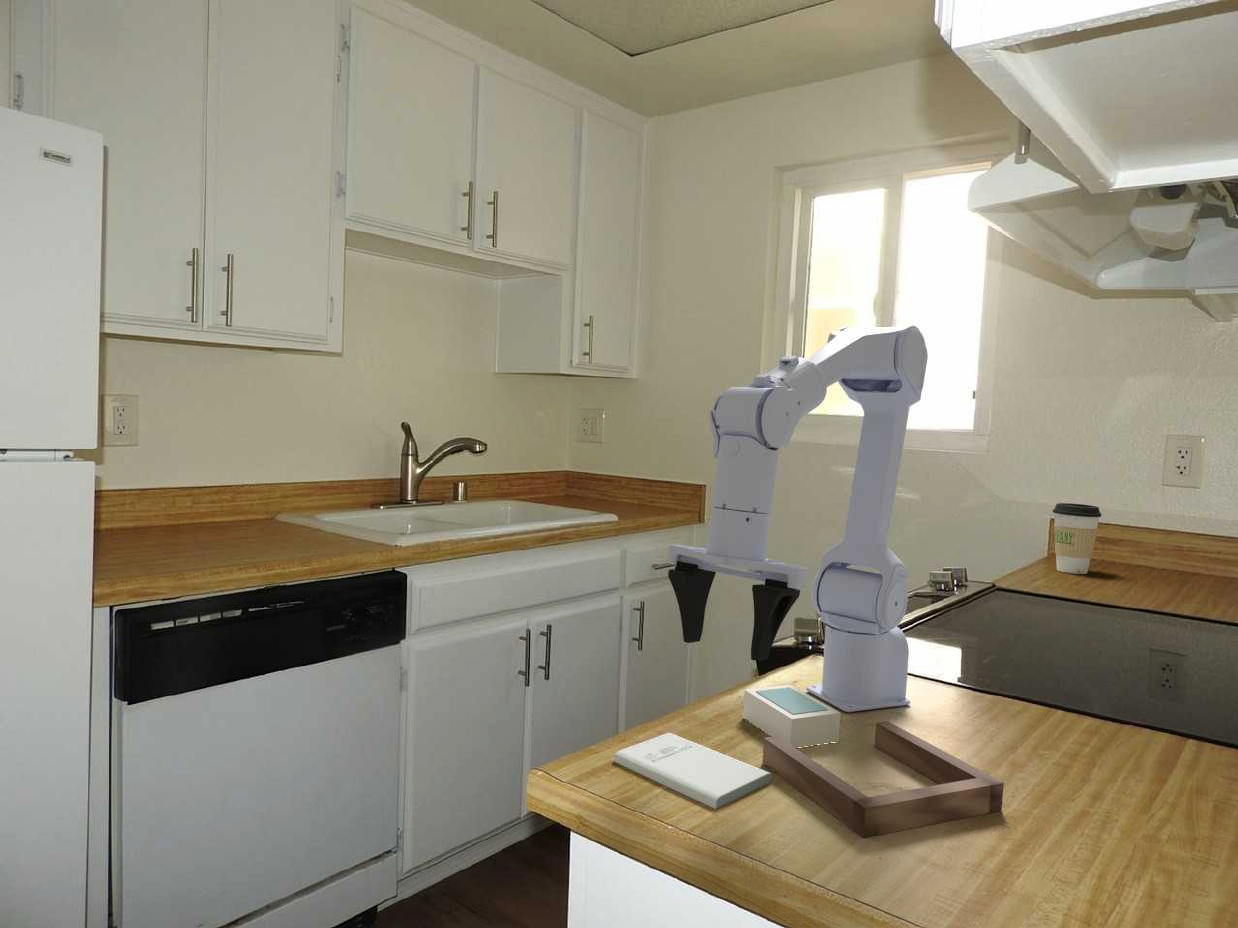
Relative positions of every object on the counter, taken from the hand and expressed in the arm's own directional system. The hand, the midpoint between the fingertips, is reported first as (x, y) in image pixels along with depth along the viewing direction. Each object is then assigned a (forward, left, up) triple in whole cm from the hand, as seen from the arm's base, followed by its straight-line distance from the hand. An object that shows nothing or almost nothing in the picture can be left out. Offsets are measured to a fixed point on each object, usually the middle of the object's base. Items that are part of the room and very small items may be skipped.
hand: (724, 650), depth 83 cm
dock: (-11, +10, -11) cm, 18 cm away
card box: (-11, -4, -11) cm, 16 cm away
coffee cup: (-129, -66, -11) cm, 146 cm away
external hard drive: (+4, +2, -12) cm, 12 cm away
